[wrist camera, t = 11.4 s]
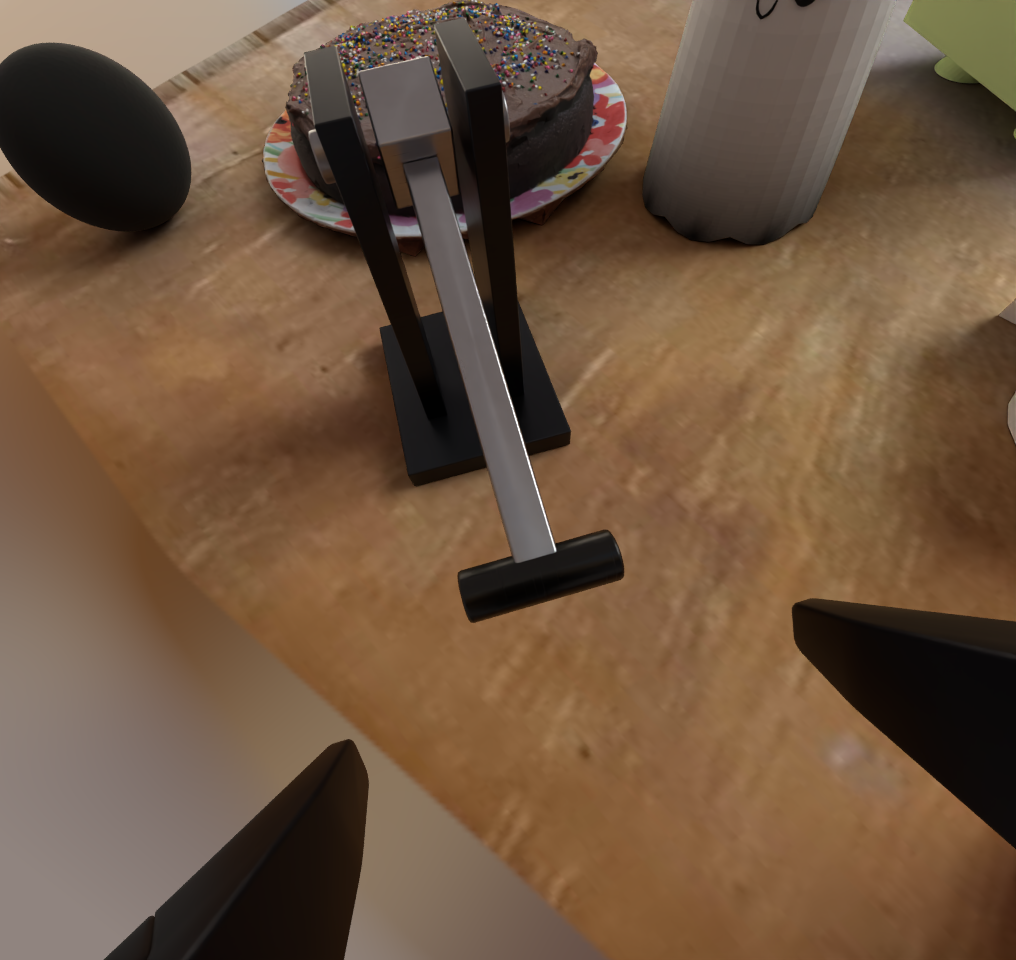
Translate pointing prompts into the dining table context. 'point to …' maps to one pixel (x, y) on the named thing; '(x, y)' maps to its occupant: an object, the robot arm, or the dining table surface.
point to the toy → (758, 113)
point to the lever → (476, 353)
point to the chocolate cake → (526, 86)
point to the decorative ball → (91, 137)
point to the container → (971, 41)
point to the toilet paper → (1012, 314)
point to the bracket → (486, 200)
